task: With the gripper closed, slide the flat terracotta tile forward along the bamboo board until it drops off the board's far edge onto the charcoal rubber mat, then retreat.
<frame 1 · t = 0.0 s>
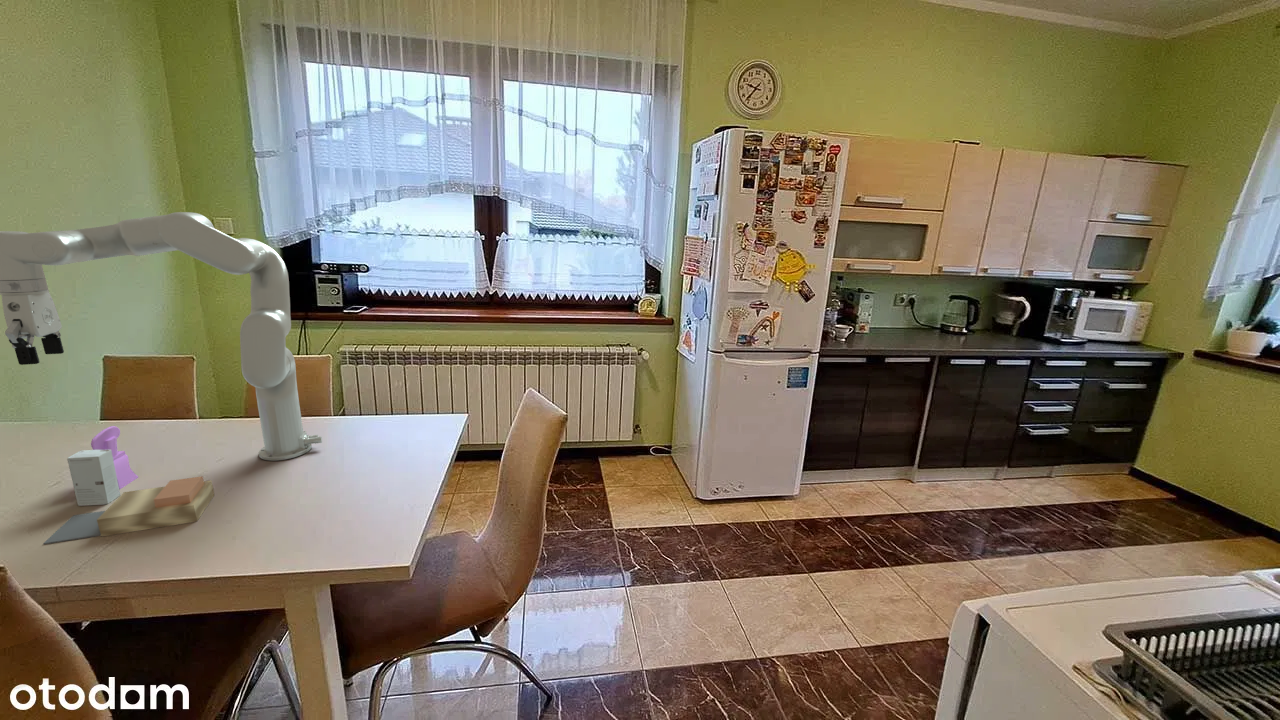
hand: (42, 358, 122), 31 cm above the table, fingers open, 9 cm apart
tile: (181, 495, 117), point 4 cm above the table, touching board
purple flanged fixture: (109, 485, 128), on the table
board: (162, 514, 116), on the table
skincare box: (101, 501, 121), on the table
mat: (87, 525, 111), on the table
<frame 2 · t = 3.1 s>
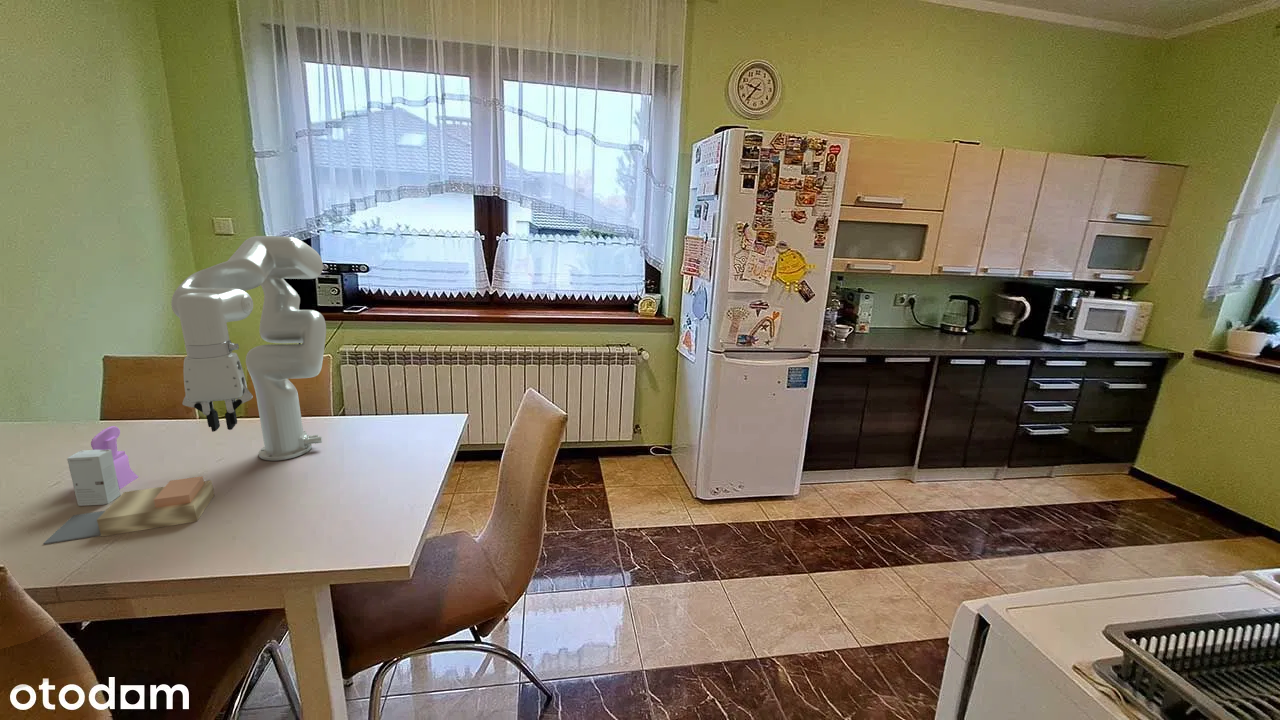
hand: (223, 427, 117), 19 cm above the table, fingers closed
nothing on the table moved.
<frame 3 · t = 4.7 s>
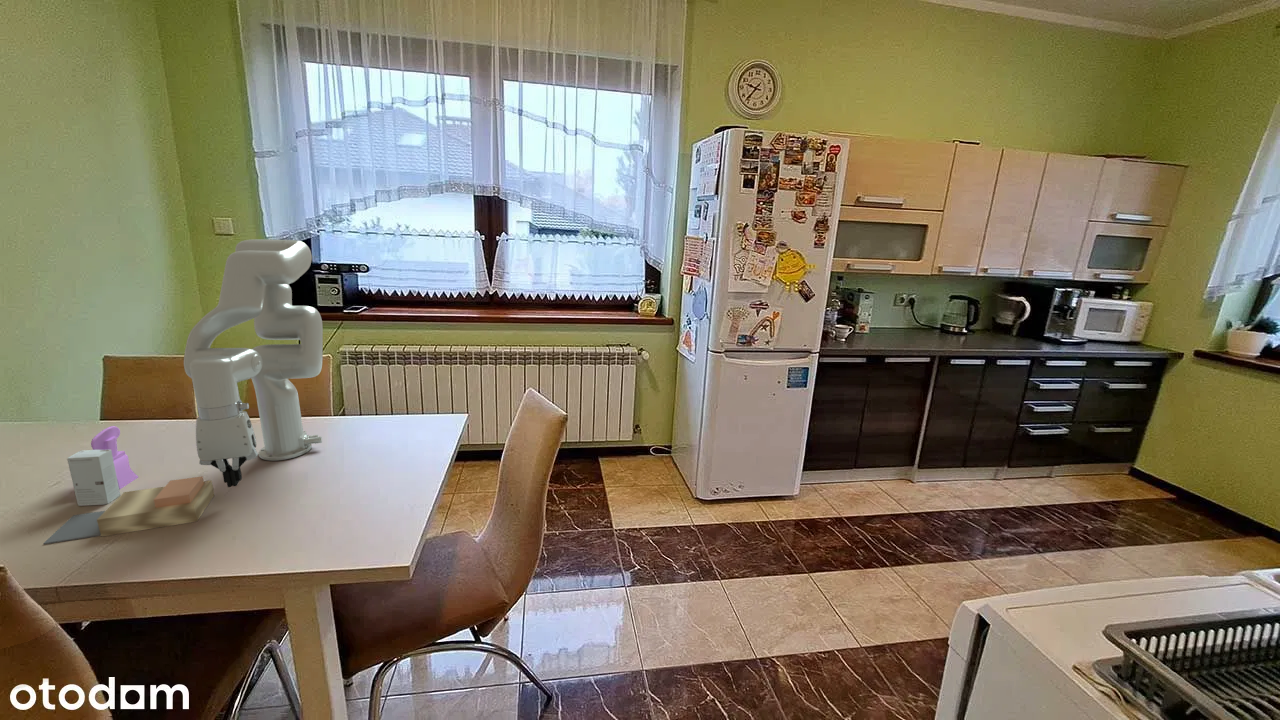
hand: (233, 483, 121), 5 cm above the table, fingers closed
nothing on the table moved.
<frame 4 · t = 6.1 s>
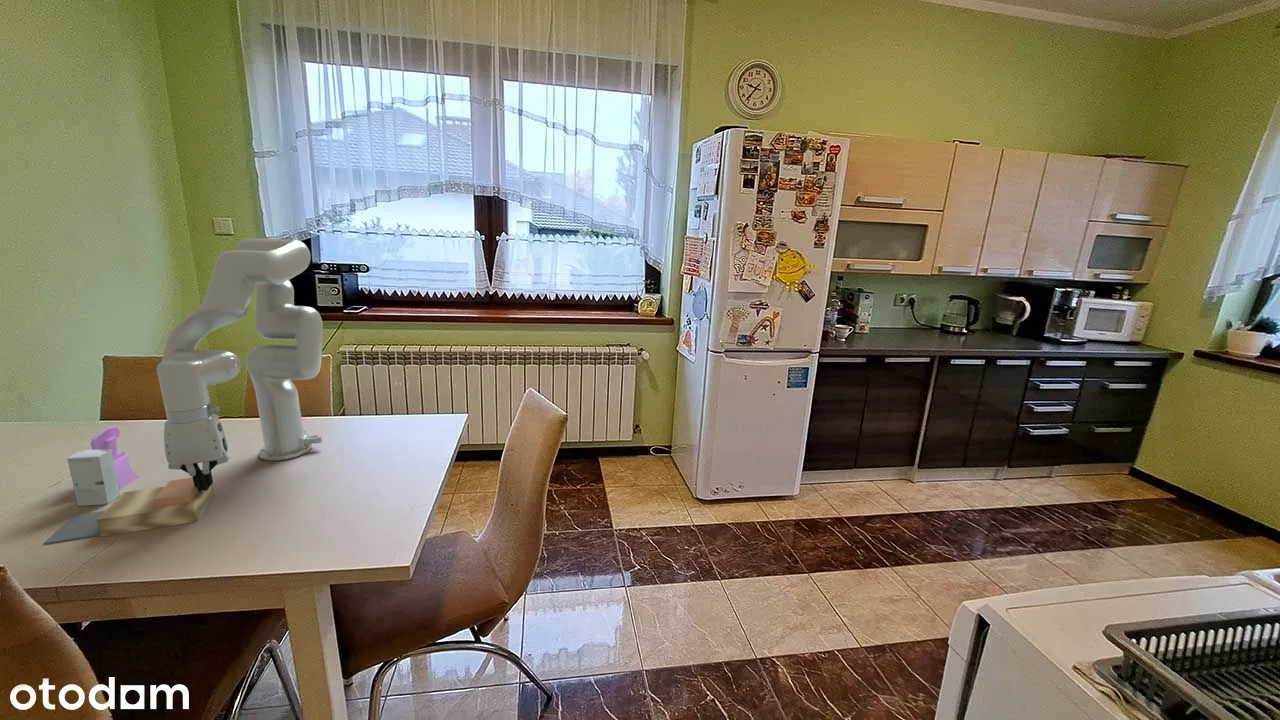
hand: (204, 488, 118), 5 cm above the table, fingers closed
tile: (180, 495, 117), point 4 cm above the table, touching board, gripper
everything else where it was.
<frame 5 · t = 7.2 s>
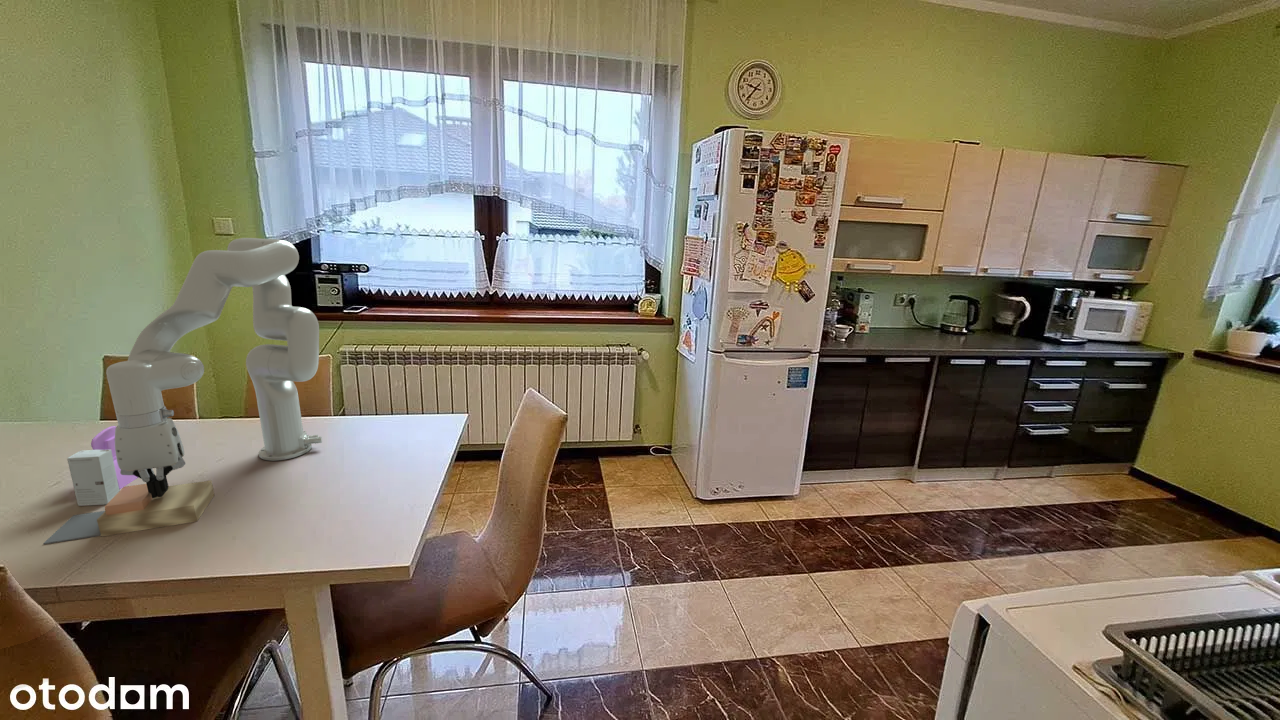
hand: (159, 494, 115), 5 cm above the table, fingers closed
tile: (134, 501, 114), point 4 cm above the table, touching board, gripper
everything else where it was.
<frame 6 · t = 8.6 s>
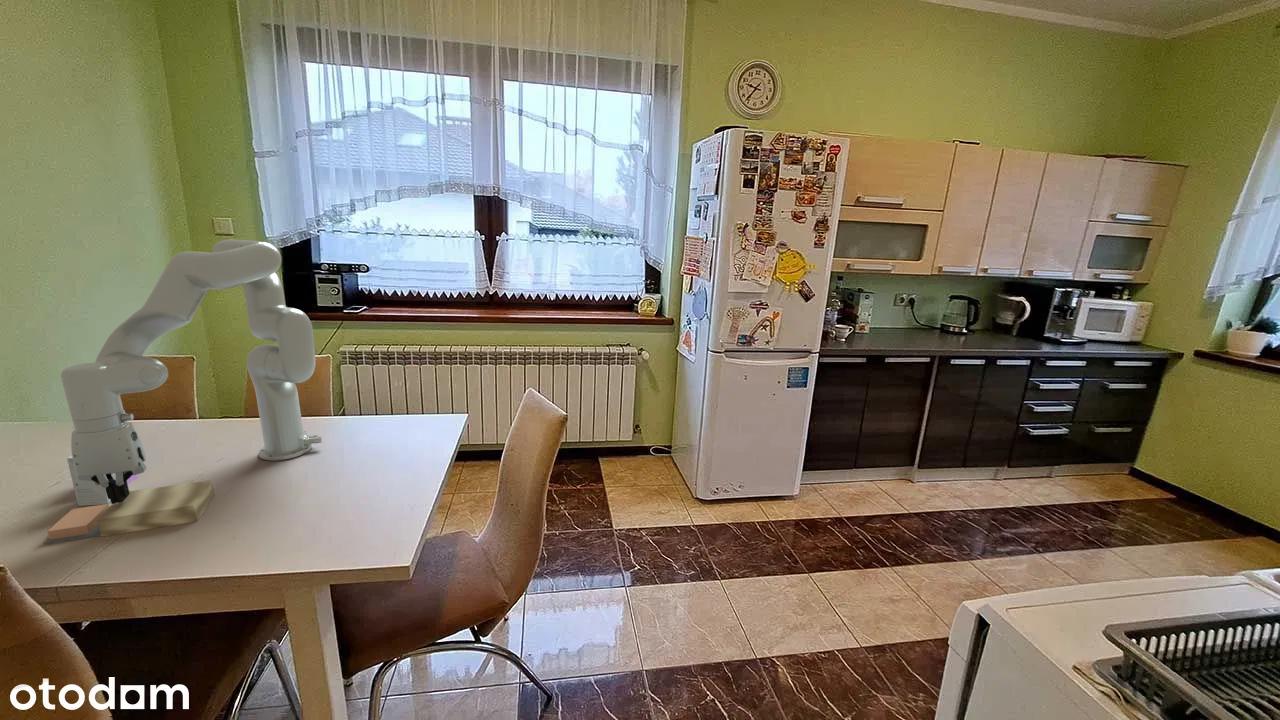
hand: (120, 500, 113), 5 cm above the table, fingers closed
tile: (79, 516, 110), point 2 cm above the table, tilted 180°, touching mat
everything else where it was.
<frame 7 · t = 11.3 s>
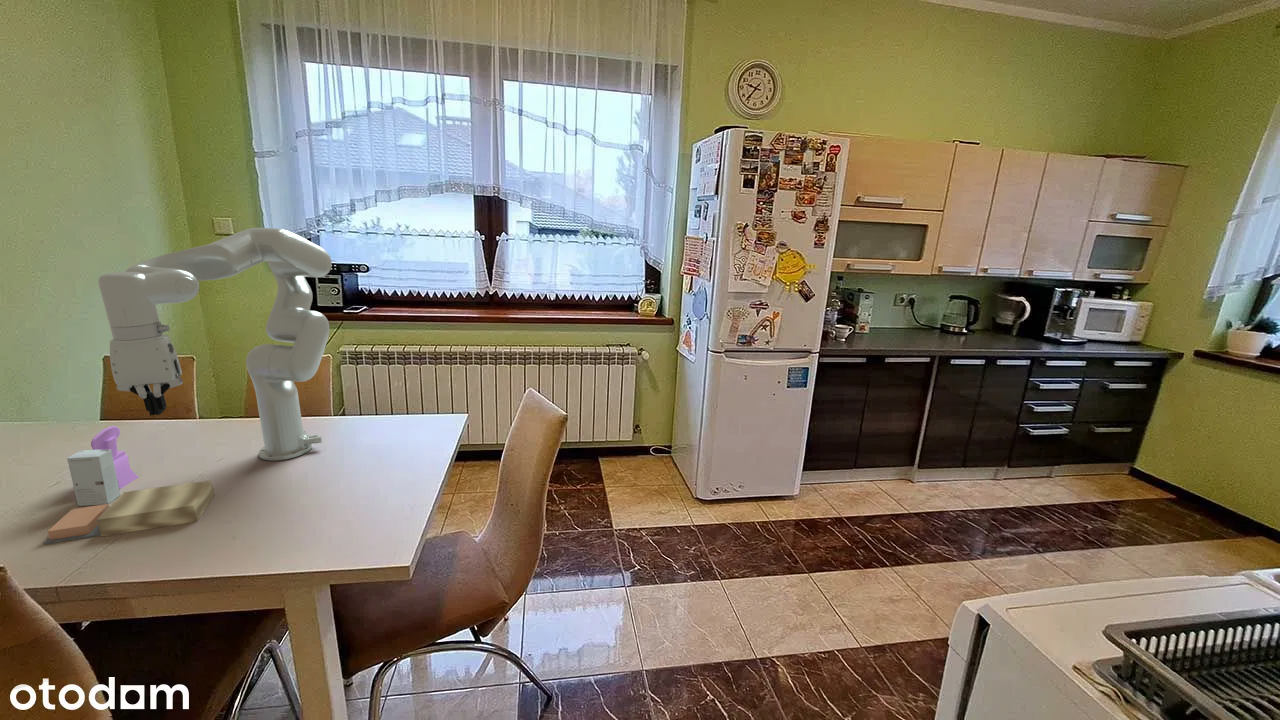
hand: (157, 412, 113), 23 cm above the table, fingers closed
nothing on the table moved.
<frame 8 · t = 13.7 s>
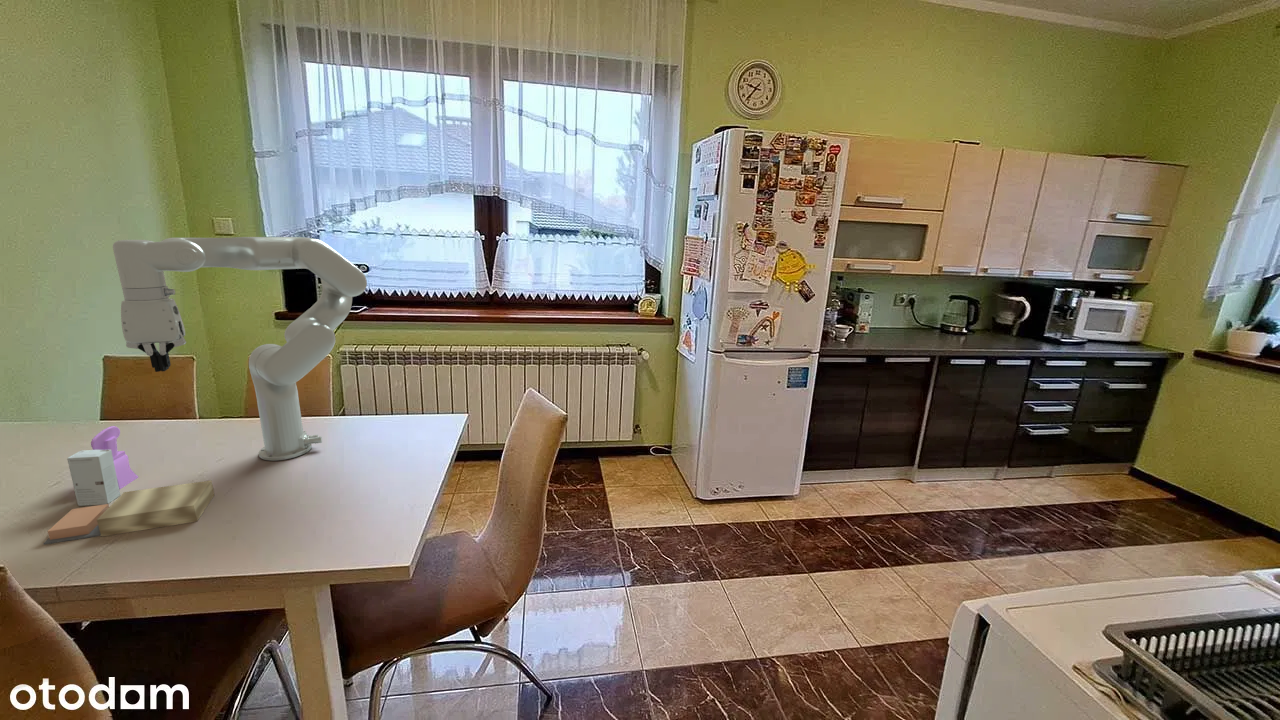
hand: (162, 369, 124), 29 cm above the table, fingers closed
nothing on the table moved.
at the end: tile point 2.3 cm above the table; tile inside the target area on the mat (1.0 cm from its centre), point 2.3 cm above the mat's base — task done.
